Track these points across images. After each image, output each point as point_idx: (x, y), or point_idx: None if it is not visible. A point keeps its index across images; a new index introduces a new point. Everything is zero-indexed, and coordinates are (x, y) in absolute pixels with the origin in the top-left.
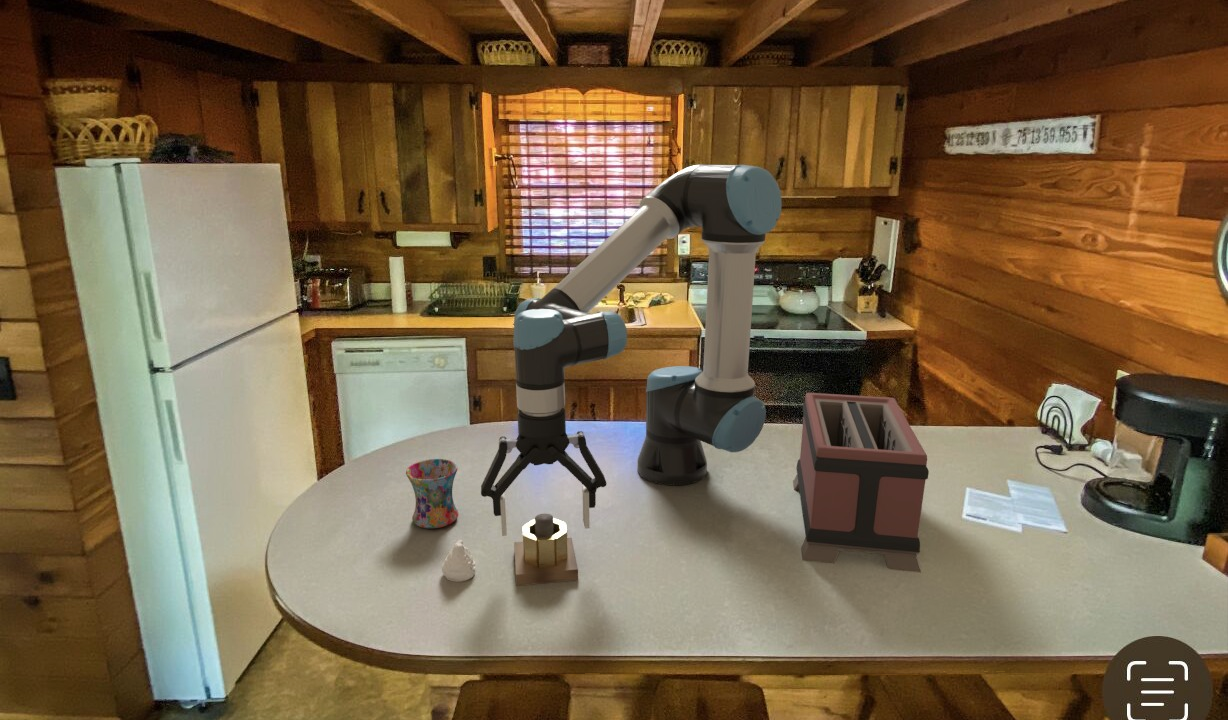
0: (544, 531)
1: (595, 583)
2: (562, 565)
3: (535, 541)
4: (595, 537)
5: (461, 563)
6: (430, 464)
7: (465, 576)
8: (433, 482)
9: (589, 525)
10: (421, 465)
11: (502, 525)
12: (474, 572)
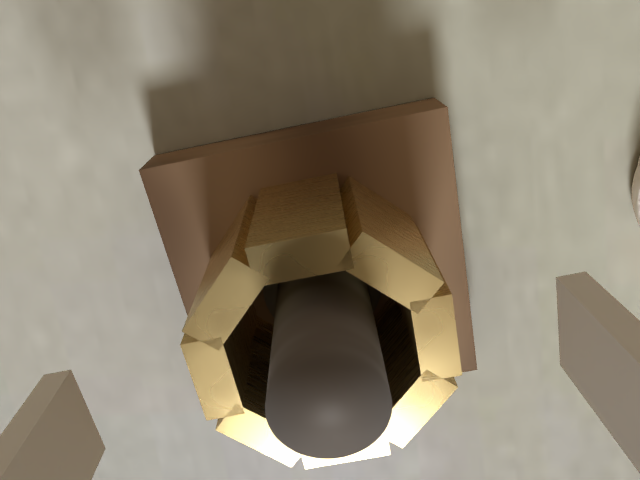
0: (317, 318)
1: (69, 132)
2: (223, 198)
3: (365, 228)
4: (143, 452)
5: None
6: None
7: None
8: None
9: (36, 387)
10: None
11: (618, 309)
12: (636, 175)
